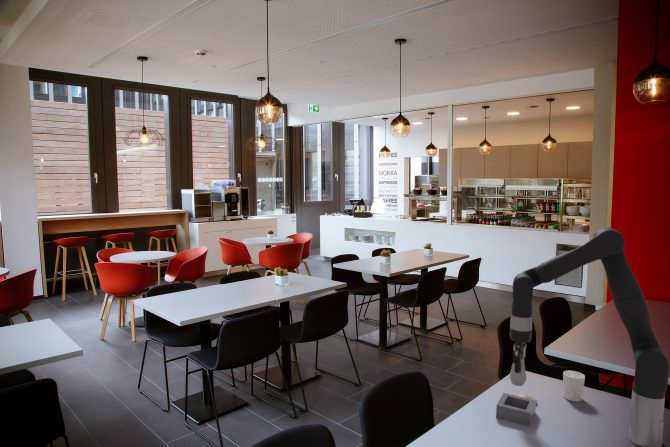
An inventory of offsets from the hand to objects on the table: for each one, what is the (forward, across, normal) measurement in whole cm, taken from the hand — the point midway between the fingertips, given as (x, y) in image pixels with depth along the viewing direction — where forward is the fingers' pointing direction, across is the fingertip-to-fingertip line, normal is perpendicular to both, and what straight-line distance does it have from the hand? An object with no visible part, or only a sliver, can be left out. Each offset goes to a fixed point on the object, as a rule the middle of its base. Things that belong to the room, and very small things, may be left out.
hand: (518, 371), depth 177 cm
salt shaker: (+5, 0, 0) cm, 5 cm away
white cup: (+17, +28, -17) cm, 37 cm away
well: (+17, 0, 0) cm, 17 cm away
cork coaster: (+17, +14, -1) cm, 22 cm away
